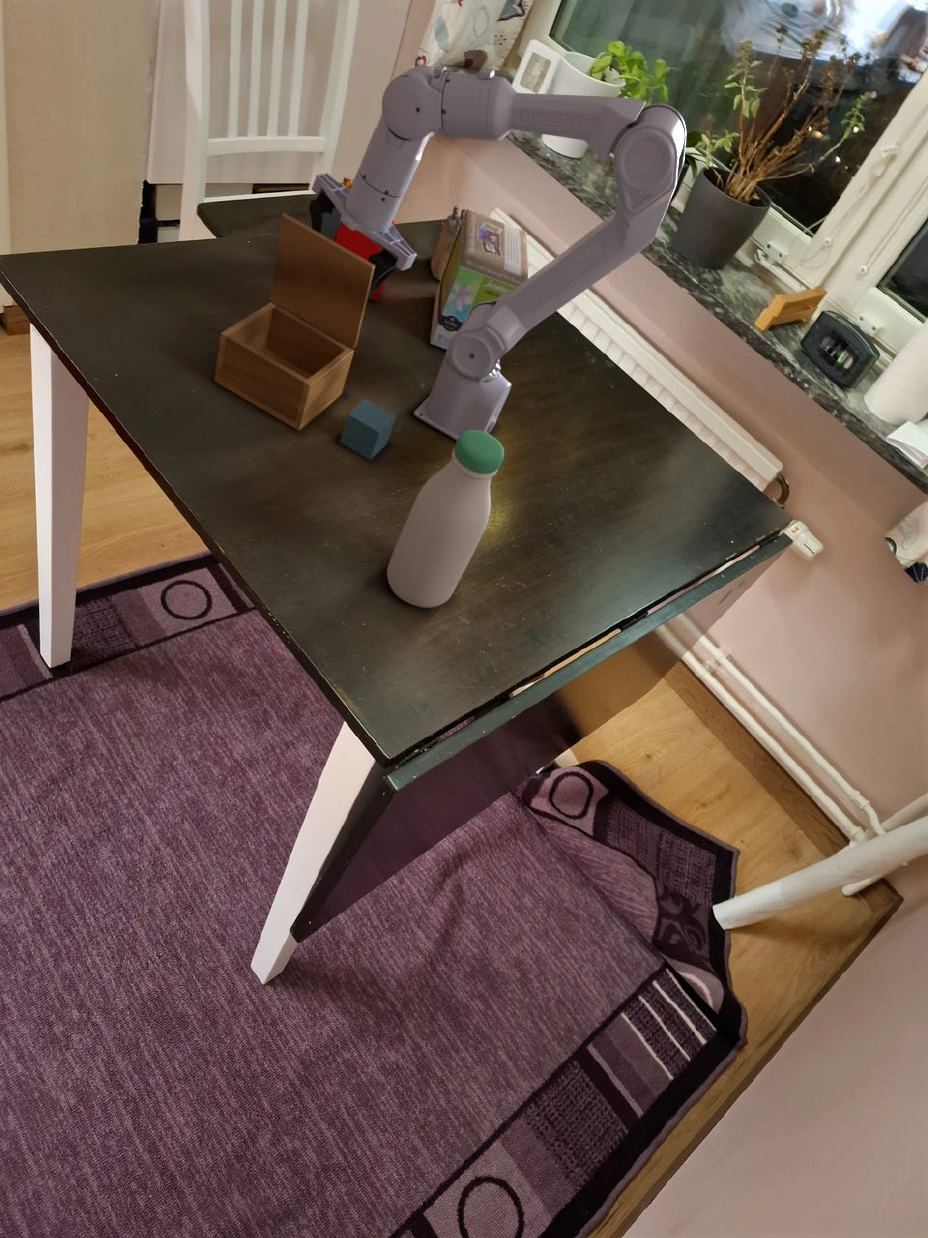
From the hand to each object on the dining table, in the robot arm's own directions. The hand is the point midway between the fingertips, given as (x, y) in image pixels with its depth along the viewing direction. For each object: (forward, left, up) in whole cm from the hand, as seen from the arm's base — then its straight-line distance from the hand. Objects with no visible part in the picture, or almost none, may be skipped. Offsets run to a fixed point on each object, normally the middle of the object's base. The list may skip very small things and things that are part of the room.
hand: (338, 279), depth 103 cm
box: (0, +11, -11) cm, 15 cm away
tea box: (-11, -24, -11) cm, 29 cm away
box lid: (0, +6, +2) cm, 7 cm away
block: (-13, +12, -11) cm, 21 cm away
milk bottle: (-29, +28, -11) cm, 42 cm away
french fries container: (+7, -19, -11) cm, 23 cm away
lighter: (-1, -37, -11) cm, 39 cm away
